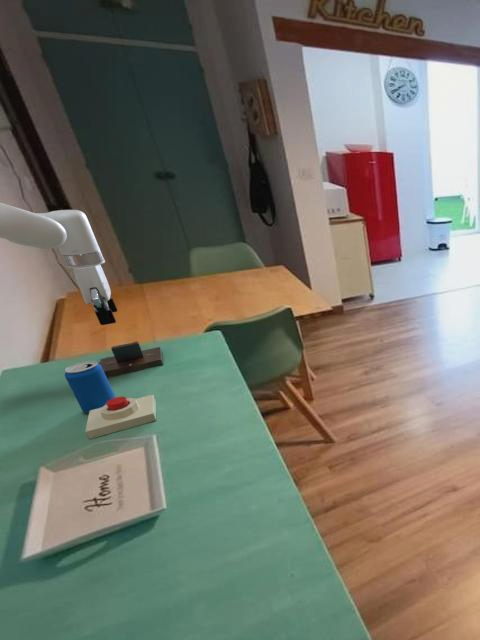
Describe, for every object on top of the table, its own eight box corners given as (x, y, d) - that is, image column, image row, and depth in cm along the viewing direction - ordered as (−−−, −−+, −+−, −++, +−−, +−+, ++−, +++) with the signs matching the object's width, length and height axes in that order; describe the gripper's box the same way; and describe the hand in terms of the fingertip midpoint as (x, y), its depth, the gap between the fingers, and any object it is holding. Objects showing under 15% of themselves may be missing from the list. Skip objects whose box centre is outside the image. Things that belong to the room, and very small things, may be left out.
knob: (117, 362, 121) (110, 348, 119) (117, 360, 122) (111, 345, 120) (143, 357, 124) (138, 342, 122) (143, 355, 126) (138, 340, 123)
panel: (100, 379, 117) (97, 372, 116) (103, 364, 124) (100, 358, 123) (163, 365, 125) (160, 358, 124) (162, 352, 132) (160, 346, 131)
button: (108, 413, 97) (105, 406, 96) (109, 405, 100) (106, 399, 99) (128, 407, 99) (125, 401, 99) (129, 400, 102) (126, 394, 101)
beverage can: (122, 405, 106) (104, 364, 101) (89, 418, 101) (68, 375, 96) (111, 397, 109) (93, 357, 104) (79, 410, 104) (57, 368, 99)
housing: (89, 439, 94) (81, 425, 92) (93, 417, 101) (86, 404, 100) (156, 420, 101) (150, 406, 99) (155, 401, 108) (150, 388, 106)
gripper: (68, 253, 114) (94, 311, 122) (59, 269, 102) (89, 331, 110) (105, 250, 119) (127, 305, 126) (100, 264, 106) (126, 325, 114)
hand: (109, 317), depth 118 cm, fingers open, 9 cm apart
